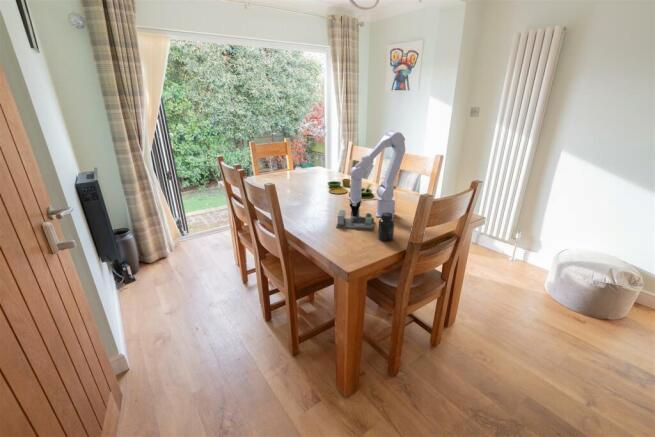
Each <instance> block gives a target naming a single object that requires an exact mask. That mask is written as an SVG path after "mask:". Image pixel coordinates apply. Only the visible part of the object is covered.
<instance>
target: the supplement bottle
mask: <svg viewBox="0 0 655 437" xmlns="http://www.w3.org/2000/svg"><path fill="white" fill-rule="evenodd" d="M392 216H393V214H391V213H388V212H385V213H382V215H381V217H380V219H379V221H378V237H377V238H378V239H379V240H380V241H381V242H385V243H386V242H392V241H394V235H395V221H394V218H393V217H392Z"/></svg>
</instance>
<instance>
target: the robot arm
mask: <svg viewBox="0 0 655 437" xmlns="http://www.w3.org/2000/svg"><path fill="white" fill-rule="evenodd" d="M405 141H406V138H405V136H404V135H403V133H402V132H399V131H394V130H389V131H387V132H386V134H385V135H383V136H382V137H381V138H380V140H379V141H378V143H377V144H376V145H375V146H374V147H373V149H372V150H371V152H370V153H368V154H365V155H364V156H363V155H362V156H361V159H360V160H359V162H357V163H356V164H355V165H354V166H353V167H351V168H350V171H349V175H350V184H351V185H350V192H351V193H350V197H349V196H348V198H347V200H349V201H350V200H351V201H350V203H349V208H350V211H351V210H352V215H353V216H357V214H358V209H360V207H361V203H362V201H361V200H362V199H363V198H361V191H362V186H363V178H364V176H365V173H366V172H367V170H369V168H370V167H371V166H372V165H373V164H374V160H375V159H376V157H378V156H379V155H380V154H381V152H383V151H384V150H385V149H386V148H391V149H392V150H393V154H392V156H391V159H390V162H389V164H388V167H387V170H386V174H385V176H384V177H383V178H384V179H383V181H381V182H380V185H379V186H378V187H377V189H376V194H377V195H378V196H377V199H378V200H377V206H376V212H375V217H376V218H377V217H378V218H381V215H382V213H385V212H388V213H391V214H393V216H392V217H393V218H392V219H394V218H395V213H396V210H395V209H396V208H395V207H396V199H393V198H394V191H395V185H394V184H395V180H396V177H397V176H398V172H399V170H400V166H401V164H402V162H403V159H404V157H405V153H406V146H405V145H406V143H405Z"/></svg>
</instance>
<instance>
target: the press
mask: <svg viewBox="0 0 655 437" xmlns="http://www.w3.org/2000/svg"><path fill="white" fill-rule="evenodd" d="M346 212H347V211H346V210H345V209H344V210H342V209H340V210H339V211H338V213H337V223H336V225H335V228H337V229H349V230H350V229H351V230H362V231H363V230H367V231H374V222H375V221H374V220H375V217H373V216H372V222H371V224H365V217H366V216H360V217H357V216H356V219H355V218H347V215H346Z"/></svg>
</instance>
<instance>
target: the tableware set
mask: <svg viewBox="0 0 655 437" xmlns="http://www.w3.org/2000/svg"><path fill="white" fill-rule="evenodd" d="M327 185H328V186H329V188H330V189H329V190H328V192H329V193H330V194H333V195H343V194H346V193H347V192H348V189H346V188H347V187H350V186H351V178H343V179H341V182H340V181H337V180H335V181H334V180H333V181H328V182H327ZM341 185H342V186H343V187H345V188H342V187H340V186H341ZM370 187H372V185H371V184H370V183H369V184H368V185H367V186H363V185H362V191H361V198H362V200H361V202H365V201H378V200H377V199H378V198H373V197H374V196H375V195H374V193H373V189H370ZM350 193H351V191H349V192H348V197H350ZM349 202H351V200H349Z"/></svg>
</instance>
